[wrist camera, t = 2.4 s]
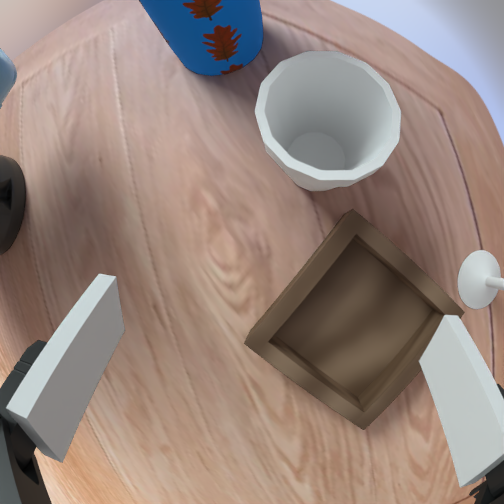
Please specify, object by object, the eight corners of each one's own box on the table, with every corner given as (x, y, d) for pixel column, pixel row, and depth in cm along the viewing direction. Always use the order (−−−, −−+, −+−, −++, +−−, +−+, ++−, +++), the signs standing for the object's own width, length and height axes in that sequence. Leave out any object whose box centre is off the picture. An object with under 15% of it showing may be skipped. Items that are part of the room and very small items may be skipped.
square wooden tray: (250, 330, 32) (243, 343, 28) (344, 214, 31) (352, 209, 26) (356, 409, 31) (363, 430, 26) (445, 304, 30) (464, 312, 25)
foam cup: (296, 223, 31) (300, 207, 18) (252, 144, 32) (229, 85, 19) (377, 180, 30) (426, 143, 17) (332, 105, 31) (351, 35, 18)
